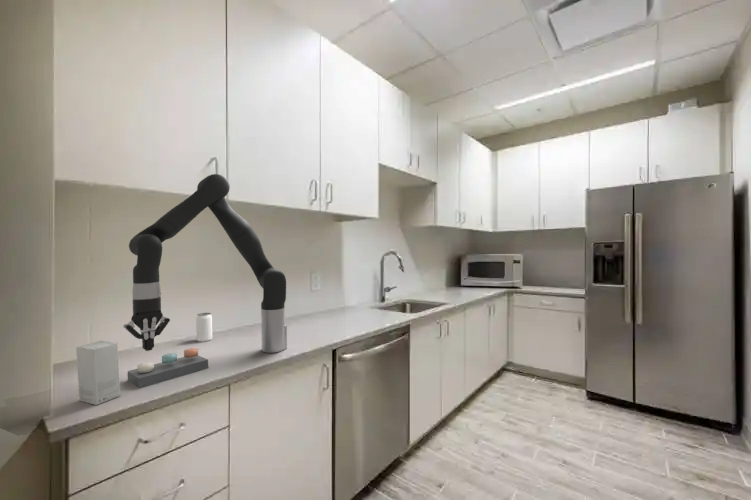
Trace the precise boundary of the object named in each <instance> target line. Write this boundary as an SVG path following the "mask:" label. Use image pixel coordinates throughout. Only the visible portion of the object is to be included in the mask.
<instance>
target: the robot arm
mask: <svg viewBox="0 0 751 500" xmlns="http://www.w3.org/2000/svg"><path fill="white" fill-rule="evenodd" d="M196 187H197V188H196V189H197V190H195V191H194V192H193V193H192V194H191V195H189V197H187V198H186V199H184V200H183V201H182V202H180V203H179V204H177V205H175V206H174V207H173V208H171V209H170V210H168V211H167V212H166V213H164V215H162V216H161V217H160V218H159V219H157V220H156V221H155V222H154V223H153V224H151V225H149V226H147V227H145V229H143V230H141V231H139V233H137V234H136V235H134V236H133V237H132V238H131V239H130V241H129V243H128V248H129V251H130V252H131V254H133V255H135V256H136V257H137V259H136V264H135V266H133V269H132V283H133V284H132V290H131V292H132V293H131V294H132V296H131V297H132V316H131V317H130V318H131V320H130V321H129V322H128V323H125V324H123V325H122V326H123V329H124V330H126V331H127V332H128V333H130V334H131V335H132V336H133V337H134V338H135V339H137V340H142V341H141V342H142V345H141V347H142V349H143V350H144V351H146V352H149V351H153V349H154V347H155V338H156V337H157V336H160V335H161V334H162V333H163V331H164V330H165V328H166V327H167V326H168V324H169V322H170V321H171V319H170V318H168V317H167V316H166V317H165V316H164V314H163V312H162V297H161V295H162V292H161V284H160V265H161V261H162V254H163V244H162V243H164V242H165V241H167V240H169V239H172V238H173V237H175V236H176V235H177V234H178V233H180V232H181V231H183V229H184V228H186V227H187V225H188V224H190V223H191V222H192V221H193V220H194V219H195V218H196V217H198V215H199V214H200V213H201V212H203V211H204V210H205V209H206V208H209V210H210V211H211V213H212V214H213V215H214V216H215V218H216V219H217V221H218V222H219V224H220V225H221V226H222V228H223V230H224V231H225V233H226V234H227V236H228V238H229V240H230V241H231V242H232V244H233V246H235V248H236V250H237V251H238V252H239V254H240V255H241V256H242V258H243V259H244V260H245V262H246V263H247V264H248V265H249V266H250V268H251V270H252V272H253V274H254V276H255V277H256V280H257V281H258V284H259V285H260V287H261V288H262V290H263V293H262V295H263V297H262V301H261V304H260V307H261V309H260V313H261V314H260V315H261V319H260V320H261V327H260V328H261V351H262V352H263V353H267V354H269V353H271V354H272V353H273V354H274V353H279V352H282V351H284V350H285V349H287V348H288V337H287V336H288V330H287V329H288V327H287V325H286V324H285V323H286V322H285V317H286V316H285V314H286V313H285V303H286V301H287V278H286V275H285V273H283V272H282V271H281V270H279V269H275V268H274V266H273V265H272V264H271V262H270V261H269V260H268V258H267V257H266V255H265V252H264V249H263V246H262V243H261V241H260V239H259V237H258V235H257V233H256V231H255V230H254V229H253V227H252V226H251V225H250V223H249V222H248V221H247V220H246V219H245V218H244V217H243V216H241V215H240V214H239V213H238V212H236V211H235V210H234V209H233V208H232V207H231V205H230V203H229V202H228V200H227V198H226V197H227V195H228V194H229V192H230V188H231V187H230V182H229V180H228V179H227V178H226V177H225V176H224V175H222V174H216V173H214V174H210V175H207V176H206V177H204V178H203V179H201V181H199V183H198V184H197V186H196ZM135 326H137V328H138V329H139V331H140V332H138V331H137V330H136V329H135Z"/></svg>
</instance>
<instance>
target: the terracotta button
mask: <svg viewBox="0 0 751 500" xmlns="http://www.w3.org/2000/svg"><path fill="white" fill-rule="evenodd" d="M196 356H199V348H195V347H191V348H188V349H187V348H186V349H185V350H183V357H185V358H191V357H196Z"/></svg>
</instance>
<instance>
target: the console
mask: <svg viewBox="0 0 751 500" xmlns="http://www.w3.org/2000/svg"><path fill="white" fill-rule="evenodd" d="M205 369H209V359H208V358H206V357H203V356H201V355H198V356H196V357H191V358H185V357H184V356H183V357H182V356H181V357H177V361H176V362H173V363H166V364H165V363H162V362H157V363H154V370H153V371H151V372H147V373H138V369H137V368H135V369H131V370H128V371H127V382H130V383H131V384H132V385H134V386H135V387H136V388H138V389H141V388H145V387H148V386H151V385H155V384H158V383H161V382H165V381H168V379H169V380H172V379H175V377H176V378H179V377H182V376H186V375H189V374H192V373H196V372H199V371H203V370H205ZM171 378H172V379H171Z"/></svg>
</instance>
